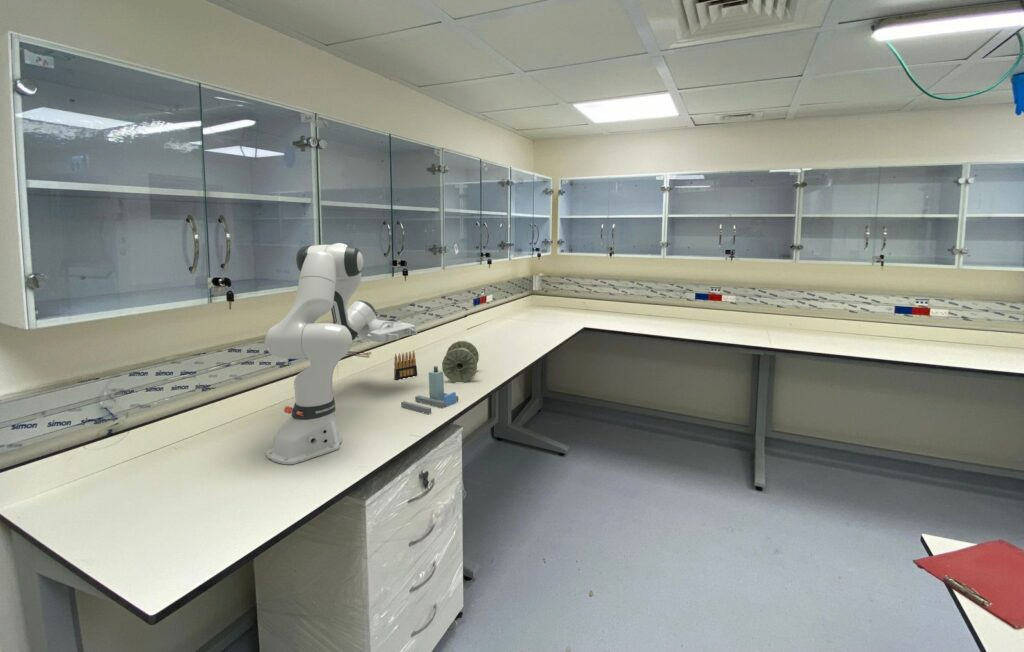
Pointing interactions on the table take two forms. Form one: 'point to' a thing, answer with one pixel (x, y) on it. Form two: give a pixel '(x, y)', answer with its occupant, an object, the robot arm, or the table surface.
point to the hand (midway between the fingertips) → (407, 334)
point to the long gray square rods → (430, 402)
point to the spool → (460, 361)
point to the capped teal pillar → (436, 384)
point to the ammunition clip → (405, 366)
